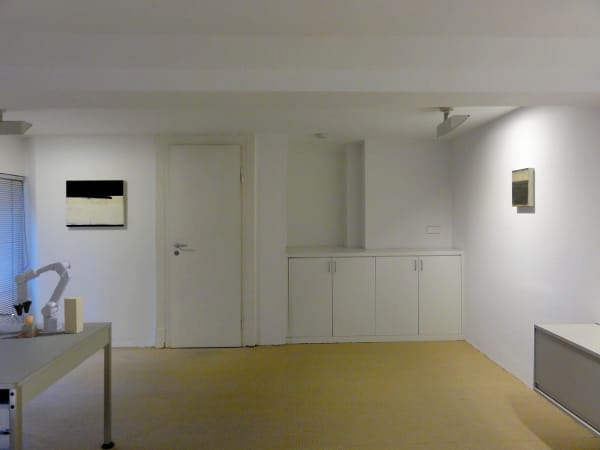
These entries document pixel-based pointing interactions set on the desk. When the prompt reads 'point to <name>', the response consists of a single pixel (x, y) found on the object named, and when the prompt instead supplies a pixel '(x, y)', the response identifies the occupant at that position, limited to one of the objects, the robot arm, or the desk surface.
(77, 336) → the desk surface
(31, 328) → the slate block
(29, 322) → the orange capsule
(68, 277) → the robot arm
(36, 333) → the brown square box
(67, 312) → the tan wooden block
